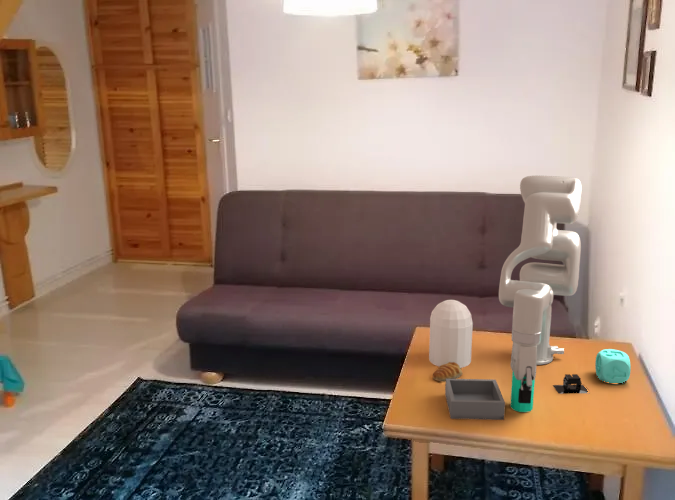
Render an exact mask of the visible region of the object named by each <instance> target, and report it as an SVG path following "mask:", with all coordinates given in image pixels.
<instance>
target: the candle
mask: <svg viewBox="0 0 675 500" xmlns="http://www.w3.org/2000/svg"><path fill="white" fill-rule="evenodd" d="M523 379H526V376H524V377H523ZM535 380H536V378H535V379H534V380H532V391H531V403H519V402H518V397H519V389H520V382H521V380H517V379H516V378H515V376H514V372H513V371H512V374H511V390H510V402H509V404H510V408H511V410H513V411H516V412H519V413H528V412H531V411H532V410H533V409H534V395H535V385H536V384H535V383H536V381H535ZM524 383H526V381H523V385H524Z"/></svg>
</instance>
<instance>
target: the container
mask: <svg viewBox="0 0 675 500" xmlns="http://www.w3.org/2000/svg"><path fill="white" fill-rule="evenodd" d="M430 314H431V315H430V317H429V346H428V347H429V348H428V354H429V355H428V359H429V362H430V363H431V364H432V365H435V366H436V367H438V368H439V367H440V366H441V365H444V364H447V363H449V362H455V363H457V364H458V365H459V367H460V368H461V369H462V368H465V367H467V366H470V364H471V362H472V347H473V346H472V344H473V329H474V327H473V325H474V321H473V319H472V313H471V311H470V310H469V308H468V307H467V305H466V304H464V303H462V302H461V301H459V300H455V299H446V300H443V301H441V302H439V303H437V304H436V306H435V307H434V308H433V309H432V311H431V313H430Z"/></svg>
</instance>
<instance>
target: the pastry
mask: <svg viewBox="0 0 675 500" xmlns="http://www.w3.org/2000/svg"><path fill="white" fill-rule="evenodd" d="M462 375H463V371H462V368H460V367H459V365H458V364H457V363H455V362H449V363H447V364H444V365H441V366H440V367H439V366H438V367H437V368H436V369H435V371H434V372H433V374H432V378H433V380H436V381H439V382H442V383H443V382H446V379H460V377H461V376H462Z"/></svg>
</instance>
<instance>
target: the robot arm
mask: <svg viewBox="0 0 675 500" xmlns="http://www.w3.org/2000/svg"><path fill="white" fill-rule="evenodd" d="M519 189H520V195H521V198H522V201H523V203H524V210H523V211H524V212H523V218H522V219H523V220H522V221H523V222H522V231H521V236H520V238H521V240H520V244H519V246H518V247H516V248H515V249H514V250H513V251H512V252H511V253H510V254H509V255H508V256H507V258H506V260H505V261H504V263H503V265H502V267H501V272H500V280H499V287H498V300H499V302H500V304H501V305H503V306H504V307H506V308H507V307H509V308H513V310H512V325H511V326H512V327H511V341H512V348H511V356H510V357H511V358H510V369H511V371H512V372H514V376H515V378H516V379H517V380H521V382H520V389H519V397H518V402H519V403H531V391H532V380H534V379H535V380H536V375H537V366H540V365H547V364H550V363H551V362H552V361H553V359H554V355H556V354H557V355H564V354H565V350H564V349H565V348H564V347H558V345H550V336H551V335H550V334H551V323H552V311H553V310H552V309H553V308H552V307H553V306H552V304H553V301H554V296H562V297H563V296H564V297H567V296H568V297H570V296H573V295H575V294H576V292H577V291H578V287H579V278H580V264H581V252H582V251H581V250H582V243H581V238H580V236H579V234H578V233H577V232H576V231H572V230H564V229H563V230H562V229H561V230H560V229H558V228H557V224H567V225H569V224H570V225H571V224H574V223H575V222H577V220H578V217H579V214H580V211H581V209H580V208H581V201H582V193H583V186H582V183H581V180H580V179H579V178H576V177H573V176H553V175H528V176H525V177H523V178H522V179H521V180H520V184H519ZM530 258H532V259H537V260H544V261H555V262H556V261H557V262H562V263H563V264H556V263H547V262H545V263H544V262H528V263H525V264H524V265H522V267H520V268H521V269H520V271H519V280H517V279H515V280H514V279H511V278H512V273H513V270H514V269H515V268H516V266H517V265H518V264H520V263H521V262H523V261H526V260H527V259H530ZM524 376H526V379H523V377H524ZM523 381H526V383H524V385H523Z"/></svg>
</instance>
